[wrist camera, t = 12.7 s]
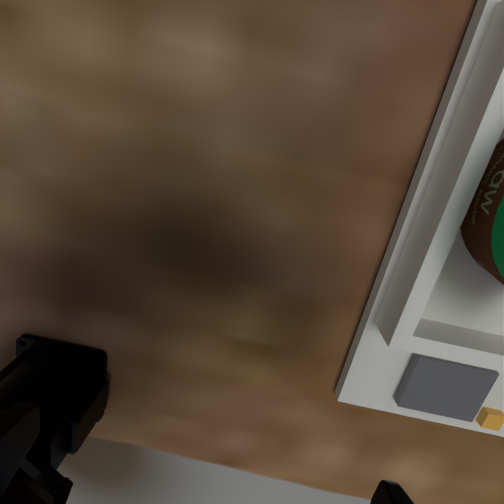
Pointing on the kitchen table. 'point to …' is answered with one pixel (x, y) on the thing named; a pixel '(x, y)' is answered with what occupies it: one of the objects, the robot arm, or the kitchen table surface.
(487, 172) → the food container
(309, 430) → the kitchen table surface
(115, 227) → the kitchen table surface
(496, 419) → the dock
